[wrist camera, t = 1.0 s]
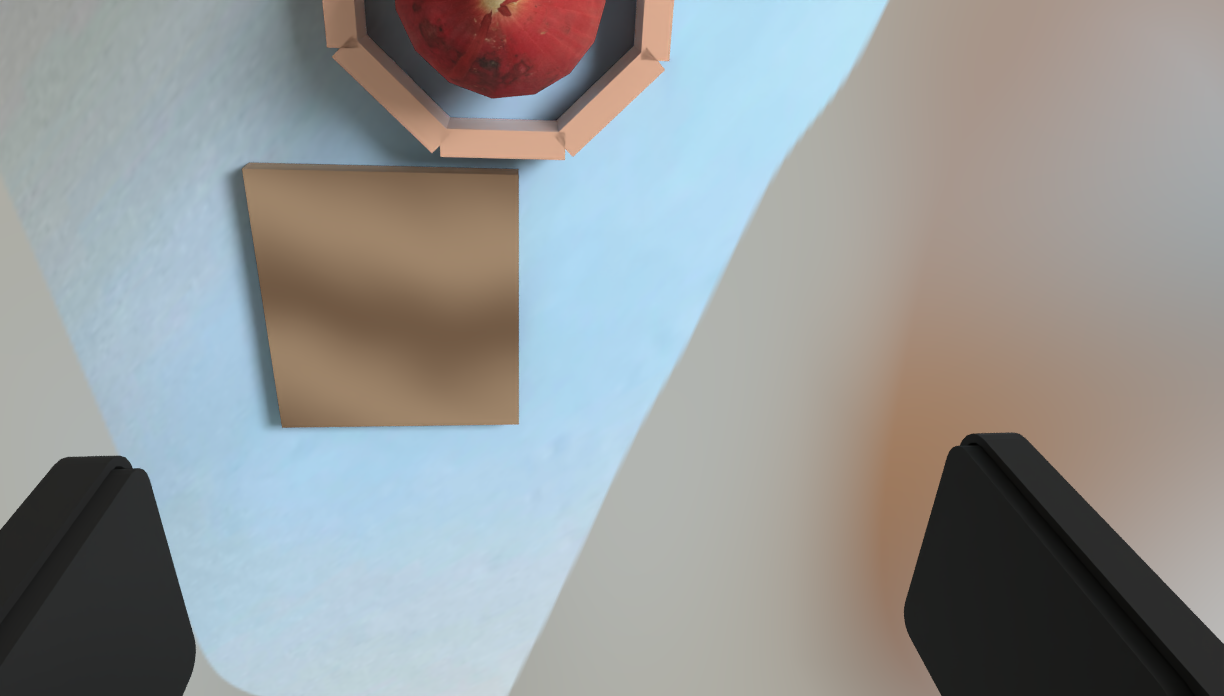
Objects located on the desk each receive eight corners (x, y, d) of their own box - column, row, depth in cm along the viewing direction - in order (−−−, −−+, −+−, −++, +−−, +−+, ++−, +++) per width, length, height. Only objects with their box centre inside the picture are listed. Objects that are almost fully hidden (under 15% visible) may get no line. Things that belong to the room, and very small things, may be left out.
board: (249, 162, 27) (241, 168, 27) (518, 168, 28) (518, 175, 28) (287, 416, 32) (282, 427, 31) (518, 413, 33) (518, 424, 32)
